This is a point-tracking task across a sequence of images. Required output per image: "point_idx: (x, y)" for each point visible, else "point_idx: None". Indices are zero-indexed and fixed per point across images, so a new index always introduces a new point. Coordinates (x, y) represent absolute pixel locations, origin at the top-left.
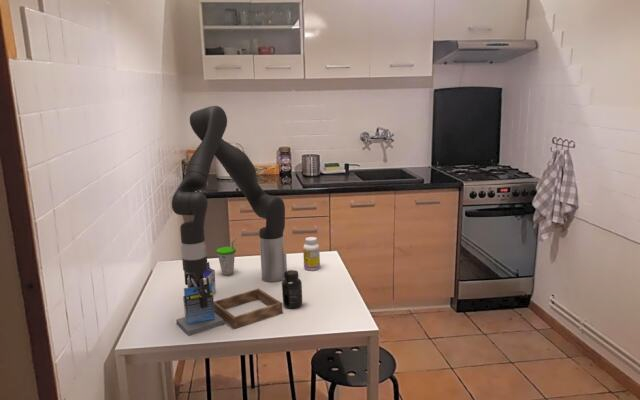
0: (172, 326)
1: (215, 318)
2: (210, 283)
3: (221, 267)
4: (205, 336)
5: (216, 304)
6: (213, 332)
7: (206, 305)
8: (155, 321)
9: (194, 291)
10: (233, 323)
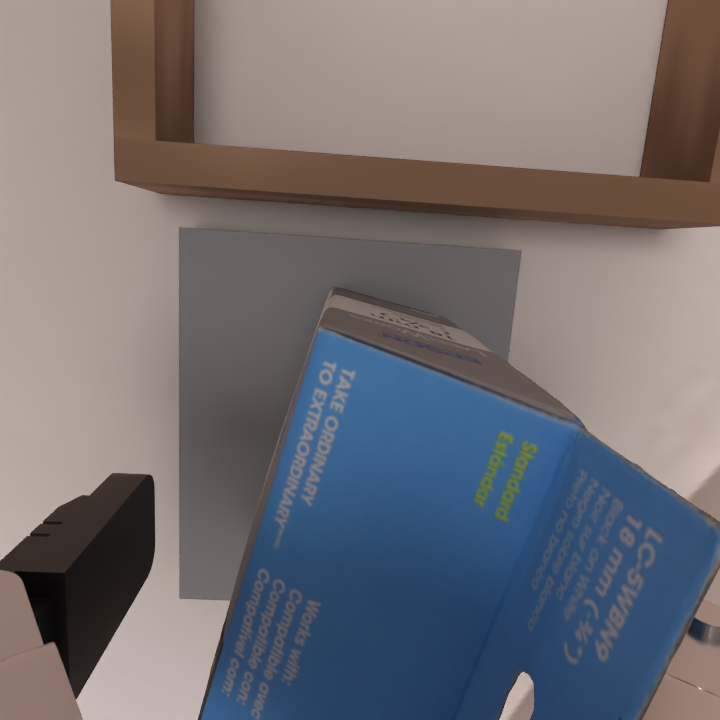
0: (213, 612)
1: (428, 301)
2: None
3: None
4: None
5: (230, 171)
6: (571, 405)
7: None
8: None
9: (99, 566)
10: (691, 226)
